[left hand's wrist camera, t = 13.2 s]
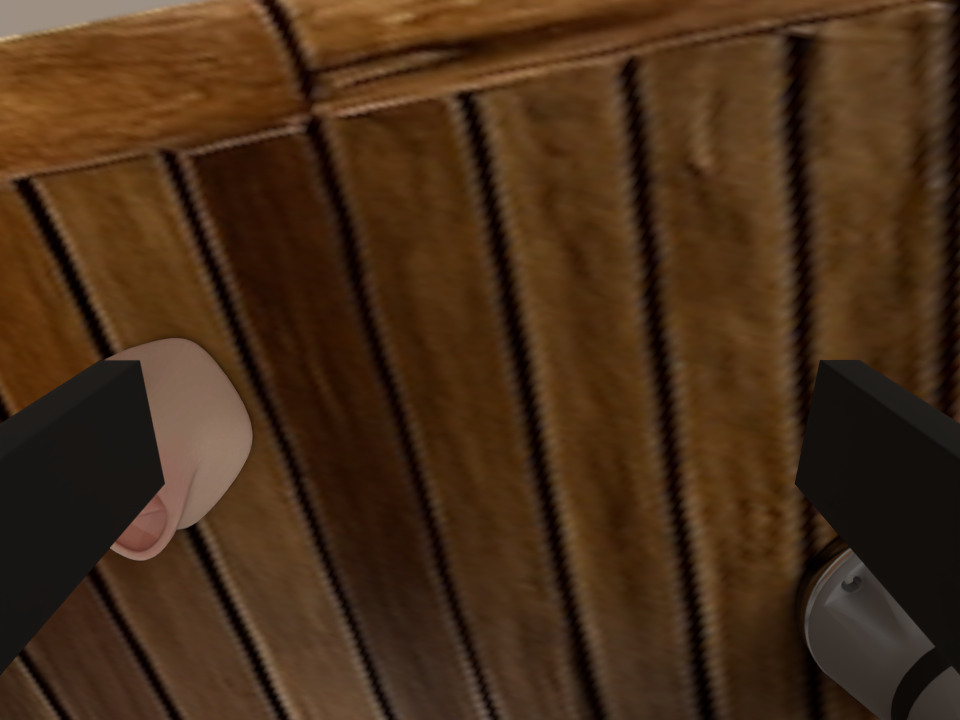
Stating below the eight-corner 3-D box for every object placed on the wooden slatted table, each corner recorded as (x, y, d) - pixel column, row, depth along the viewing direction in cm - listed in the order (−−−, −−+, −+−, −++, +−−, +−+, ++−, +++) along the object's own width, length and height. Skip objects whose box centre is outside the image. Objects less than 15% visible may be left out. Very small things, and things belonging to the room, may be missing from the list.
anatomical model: (120, 325, 34) (280, 462, 37) (155, 305, 38) (298, 431, 41) (-16, 468, 38) (141, 584, 41) (29, 436, 41) (170, 545, 44)
